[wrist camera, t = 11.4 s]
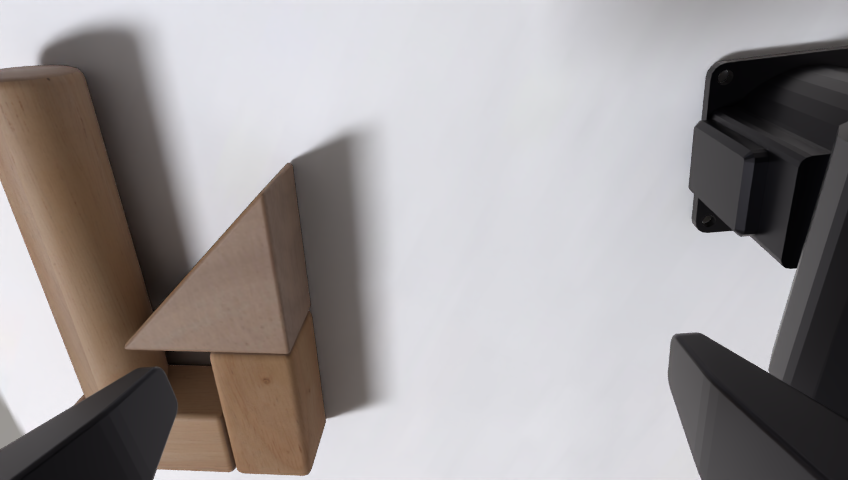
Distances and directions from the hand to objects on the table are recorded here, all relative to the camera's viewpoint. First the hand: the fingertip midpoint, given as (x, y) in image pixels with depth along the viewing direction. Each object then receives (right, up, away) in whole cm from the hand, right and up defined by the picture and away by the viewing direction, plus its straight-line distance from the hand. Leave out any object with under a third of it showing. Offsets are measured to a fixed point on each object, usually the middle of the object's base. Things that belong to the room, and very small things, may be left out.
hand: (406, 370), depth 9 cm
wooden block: (-10, -8, +17) cm, 22 cm away
